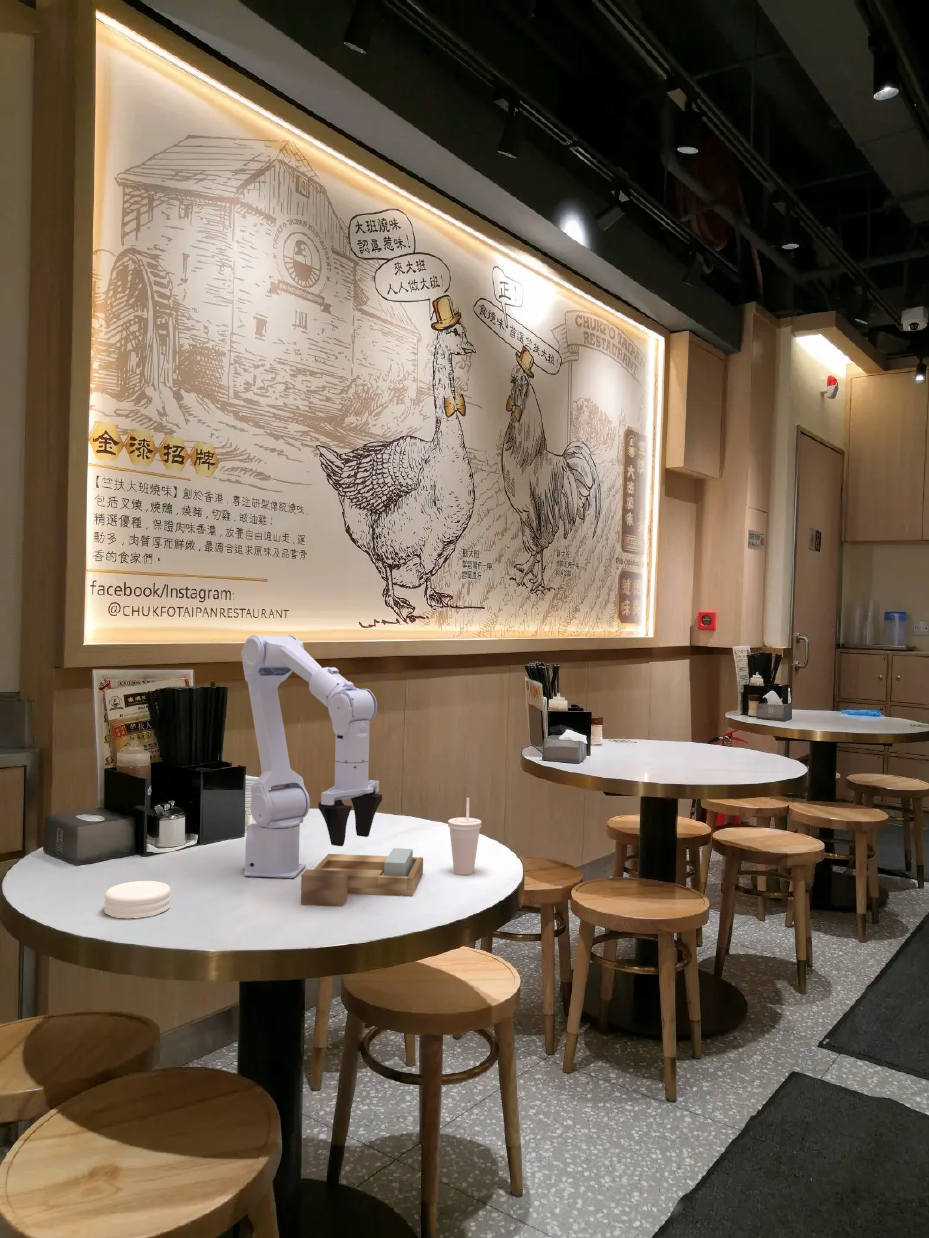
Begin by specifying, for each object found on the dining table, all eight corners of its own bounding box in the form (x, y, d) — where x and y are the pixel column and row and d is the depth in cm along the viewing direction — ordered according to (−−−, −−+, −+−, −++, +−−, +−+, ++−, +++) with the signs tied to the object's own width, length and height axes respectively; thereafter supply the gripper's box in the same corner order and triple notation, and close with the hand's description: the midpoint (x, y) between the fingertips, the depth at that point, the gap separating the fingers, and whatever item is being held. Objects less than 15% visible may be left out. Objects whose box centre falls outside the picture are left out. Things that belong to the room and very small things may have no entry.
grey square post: (383, 885, 154) (384, 862, 154) (393, 869, 164) (393, 848, 164) (404, 886, 153) (404, 862, 153) (412, 870, 163) (412, 848, 163)
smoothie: (477, 878, 163) (478, 801, 163) (443, 875, 164) (444, 799, 164) (483, 869, 169) (484, 795, 169) (450, 866, 170) (452, 793, 170)
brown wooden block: (300, 905, 145) (301, 874, 145) (306, 899, 149) (306, 869, 149) (342, 907, 145) (343, 876, 145) (347, 900, 148) (347, 870, 148)
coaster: (100, 905, 144) (100, 884, 144) (164, 897, 148) (164, 876, 148) (108, 924, 135) (109, 901, 135) (176, 915, 140) (176, 893, 140)
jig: (308, 891, 153) (309, 874, 153) (327, 869, 167) (328, 853, 167) (412, 895, 151) (412, 878, 151) (422, 873, 165) (423, 857, 165)
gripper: (347, 768, 143) (345, 852, 142) (394, 757, 155) (392, 834, 155) (311, 764, 146) (309, 847, 146) (360, 754, 159) (359, 830, 159)
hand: (350, 840), depth 151 cm, fingers open, 7 cm apart
